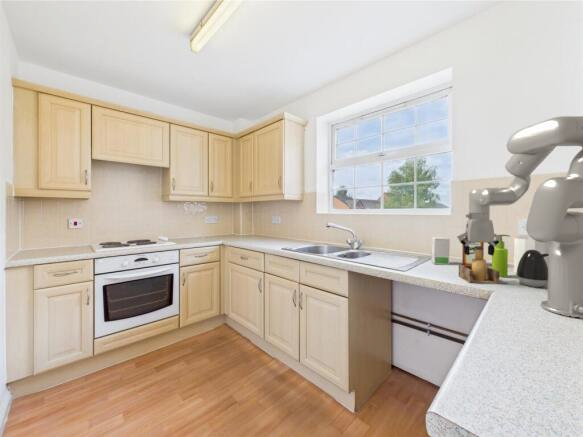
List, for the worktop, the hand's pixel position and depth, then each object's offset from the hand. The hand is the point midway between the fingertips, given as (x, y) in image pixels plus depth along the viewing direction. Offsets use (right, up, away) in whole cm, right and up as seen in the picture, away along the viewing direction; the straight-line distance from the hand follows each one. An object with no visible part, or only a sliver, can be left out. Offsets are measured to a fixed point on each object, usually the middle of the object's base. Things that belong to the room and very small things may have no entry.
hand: (478, 254), depth 116 cm
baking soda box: (+20, -10, +32) cm, 39 cm away
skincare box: (+4, -11, +36) cm, 38 cm away
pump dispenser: (+17, -12, -8) cm, 22 cm away
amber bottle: (0, -11, 0) cm, 11 cm away
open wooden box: (0, -12, 0) cm, 12 cm away
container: (+34, -11, +10) cm, 37 cm away
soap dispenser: (+16, -11, +7) cm, 21 cm away
